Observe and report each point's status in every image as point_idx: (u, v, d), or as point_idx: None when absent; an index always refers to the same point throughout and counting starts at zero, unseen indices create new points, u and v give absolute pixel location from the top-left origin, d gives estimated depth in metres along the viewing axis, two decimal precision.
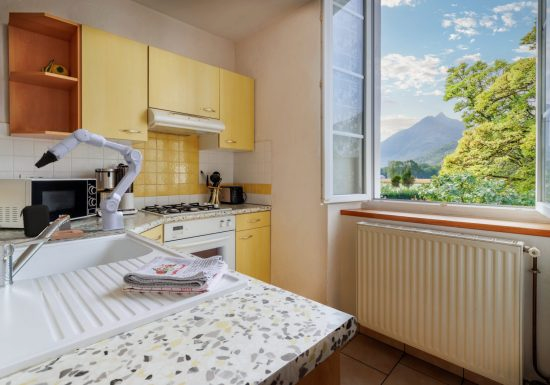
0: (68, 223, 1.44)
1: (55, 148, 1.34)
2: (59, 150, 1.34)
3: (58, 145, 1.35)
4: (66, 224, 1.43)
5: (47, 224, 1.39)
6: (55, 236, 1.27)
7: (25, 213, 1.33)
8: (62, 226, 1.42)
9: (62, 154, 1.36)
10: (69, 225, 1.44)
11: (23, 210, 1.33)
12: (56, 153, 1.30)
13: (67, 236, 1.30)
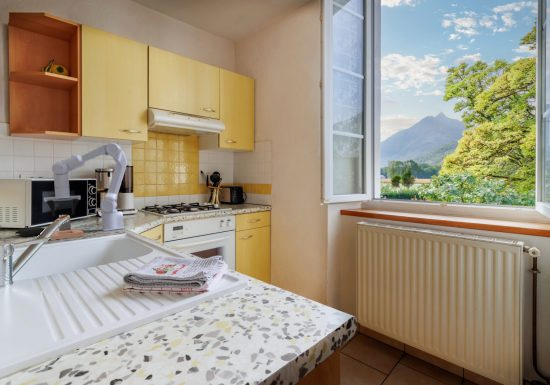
0: (68, 223, 1.44)
1: None
2: (55, 193, 1.42)
3: None
4: (66, 224, 1.43)
5: None
6: (55, 236, 1.27)
7: (19, 230, 1.42)
8: (62, 226, 1.42)
9: (58, 194, 1.41)
10: (69, 225, 1.44)
11: (17, 231, 1.43)
12: (44, 199, 1.39)
13: (67, 236, 1.30)
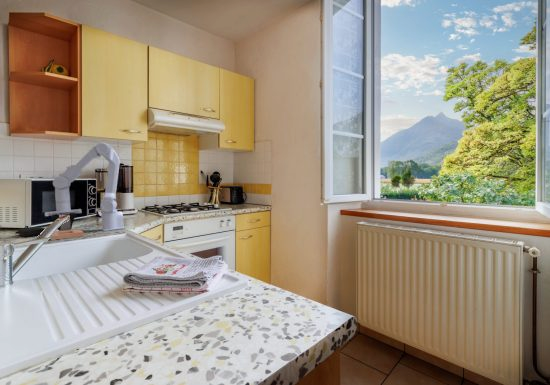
0: (68, 223, 1.44)
1: None
2: (56, 208, 1.42)
3: None
4: (66, 224, 1.43)
5: None
6: (55, 236, 1.27)
7: (19, 230, 1.42)
8: (62, 226, 1.42)
9: (59, 208, 1.42)
10: (69, 225, 1.44)
11: (17, 231, 1.43)
12: (45, 214, 1.39)
13: (67, 236, 1.30)
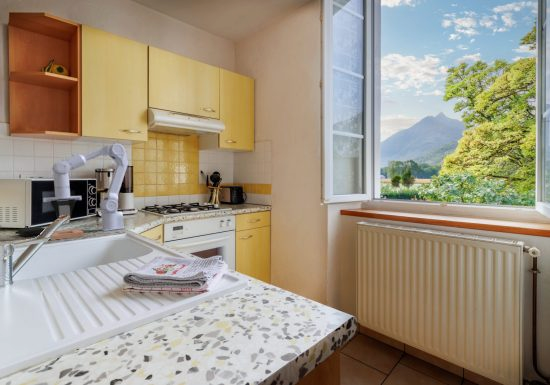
0: (67, 210, 1.38)
1: None
2: (55, 194, 1.36)
3: None
4: (66, 211, 1.37)
5: None
6: (55, 236, 1.27)
7: (19, 230, 1.42)
8: (61, 213, 1.36)
9: (57, 194, 1.35)
10: (68, 212, 1.38)
11: (17, 231, 1.43)
12: (43, 200, 1.33)
13: (67, 236, 1.30)
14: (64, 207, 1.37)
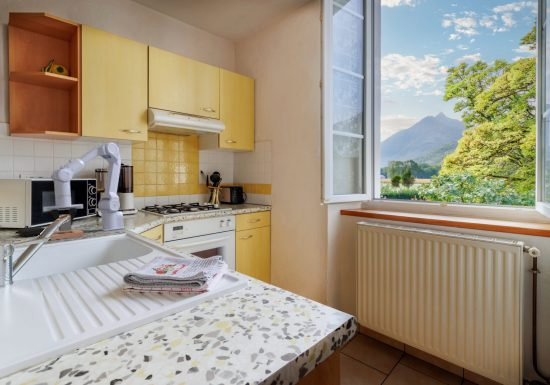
0: None
1: None
2: None
3: None
4: None
5: None
6: (55, 236, 1.27)
7: (19, 230, 1.42)
8: None
9: (58, 203, 1.30)
10: (69, 221, 1.33)
11: (17, 231, 1.43)
12: (43, 209, 1.28)
13: (67, 236, 1.30)
14: None
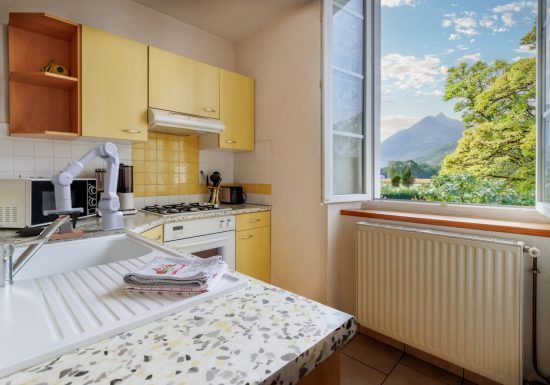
0: (69, 226, 1.33)
1: None
2: None
3: None
4: (67, 227, 1.33)
5: None
6: (55, 236, 1.27)
7: (19, 230, 1.42)
8: (62, 229, 1.31)
9: (58, 207, 1.31)
10: (70, 228, 1.33)
11: (17, 231, 1.43)
12: None
13: (67, 236, 1.30)
14: (65, 223, 1.32)
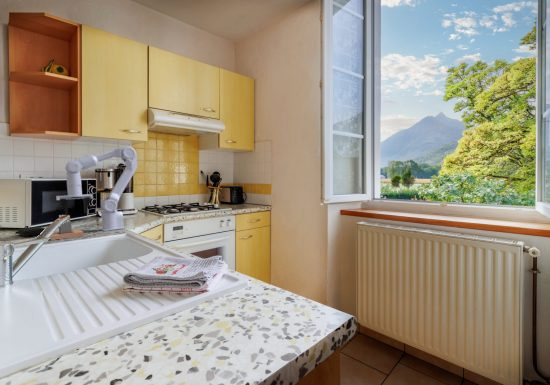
0: (69, 226, 1.33)
1: None
2: None
3: None
4: (67, 227, 1.33)
5: None
6: (55, 236, 1.27)
7: (19, 230, 1.42)
8: (62, 229, 1.31)
9: (70, 192, 1.40)
10: (70, 228, 1.33)
11: (17, 231, 1.43)
12: (56, 198, 1.38)
13: (67, 236, 1.30)
14: (65, 223, 1.32)
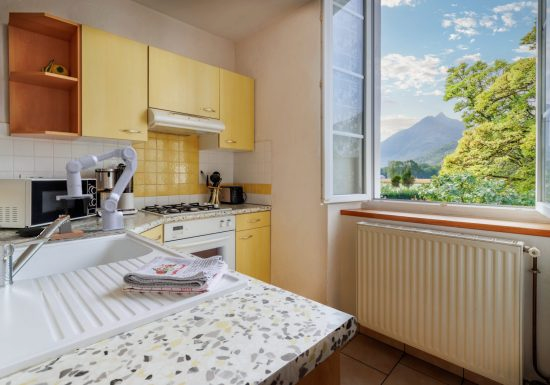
0: (69, 226, 1.33)
1: None
2: None
3: None
4: (67, 227, 1.33)
5: None
6: (55, 236, 1.27)
7: (19, 230, 1.42)
8: (62, 229, 1.31)
9: (70, 192, 1.40)
10: (70, 228, 1.33)
11: (17, 231, 1.43)
12: (56, 198, 1.38)
13: (67, 236, 1.30)
14: (65, 223, 1.32)
